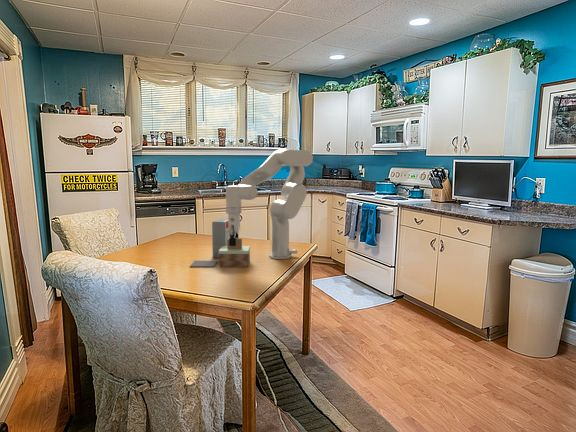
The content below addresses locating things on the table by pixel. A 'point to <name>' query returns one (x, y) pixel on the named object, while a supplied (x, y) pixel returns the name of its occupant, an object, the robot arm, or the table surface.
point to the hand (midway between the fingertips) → (233, 243)
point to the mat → (203, 264)
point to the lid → (234, 248)
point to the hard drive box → (219, 235)
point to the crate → (234, 260)
